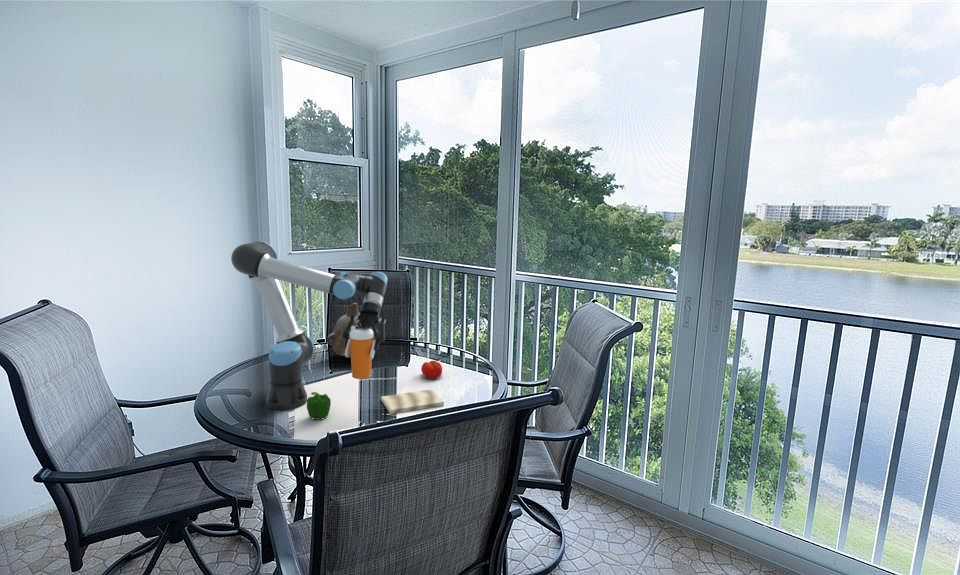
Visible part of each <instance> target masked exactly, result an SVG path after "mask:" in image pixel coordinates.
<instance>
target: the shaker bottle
mask: <svg viewBox="0 0 960 575" xmlns="http://www.w3.org/2000/svg"><path fill="white" fill-rule="evenodd" d="M370 327H371V326H370V325H361V324H356V325H353V326H351V331H350V345H351V358H350V361H351V377H352V378H353V379H356V380H365V379H369V378H370V377H371V376H372V364H373V362H372V360H373V359H371V358H370V352H371V348H372V344H373V337H374V332H373V331H372V330H371V329H370Z"/></svg>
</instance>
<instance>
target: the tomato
mask: <svg viewBox="0 0 960 575" xmlns="http://www.w3.org/2000/svg"><path fill="white" fill-rule="evenodd" d="M420 369H421V373H422V375H423V377H425V378H427V379H438V378H439V377H441V375H442V373H443V366H442V364H441V363H440V362H438V361H436V360H430V361H429V362H428V361H425V362H424V363H422V365H421V368H420Z"/></svg>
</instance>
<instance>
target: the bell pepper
mask: <svg viewBox="0 0 960 575" xmlns="http://www.w3.org/2000/svg"><path fill="white" fill-rule="evenodd" d="M310 395H312V396H309V397H307V402H306V410H307V413H308V417H310V419H312V418H314V419H313V420H323V419H322V418H324V419H326V418H328V416H329V414H330V411H331V410H330V409H331V405H332V403H331V402H332V401H331V400H332V399H331V398H330V397H329V396H328V394H327V393H324V394H320V393H318V392H317V391H312V392H311V393H310ZM325 417H326V418H325ZM316 418H318V419H316Z"/></svg>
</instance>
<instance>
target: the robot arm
mask: <svg viewBox="0 0 960 575" xmlns="http://www.w3.org/2000/svg"><path fill="white" fill-rule="evenodd" d="M230 259H231V260H230V261H231V264H232V266H233V267H234V269H235V270H236V271H237V272H239V273H240V274H244V275H246V276H247V275H248V278H249V280H250V281H253V282H255V284H256V287H257V289H258V292H259V294H260V296H261V298H262V299H261V300H262V301H263V303H264V306H265V308H266V310H267V313H268V315H269V318H270V320H271V322H272V325H273V327H274V330H275V333H276V334H277V337H276V340H275V343H276V344H273V345H272V346H271V347H270V348H269V351H268V353H269V354H268V362H269V364H268V365H269V367H268V368H269V382H270V383H269V384H270V385H269V389H268V392H267V396H266V399H265V405H266V407H267V408H269V409H271V410H275V411H287V410H292V409H297V408H299V407H301V406H304V405H305V404H307V399H308V394H307V391H306V389H305V386H304V383H303V373H302V372H303V371H302V368H303V367H304V366H305V365H306V364H307V363H308V362H309V361H310V360H311V359H312V357H313V355H314V352H315V345H314V342H313V340H312V339H311V338H310V337H309V336H307V334H306V332H305V330H304V329H302V328H300V327H299V326H298V322H297V320H296V317H295V315H294V313H293V310H292V308H291V306H290V303H289V301H288V298H287V296H286V293H285V292H284V288H283V286H282V283H281V282H285V283H288V284H293V285H296V286H300V287H304V288H306V289H307V288H308V289H312V290H315V291H319V292H323V293H326V294H331V295H333V296H335V297H336V298H337V299H338V300H339V299H340V300H347V299H348V300H349V299H350V298H352V297H353V296H354V295H355V294H362V295H364V297H363V301H362V305H361V309H360V311H359V313H360V315H359V316H358V317H354V316H351V319H350V322H349V324H348V326H347V327H346V329H345V331H344V333H343V335H342V337H343V339H344V340H346V342H345V345H344V346H345V348H346V350H345V356H344V357H345V358H349V357H348V356H349V353H350V349H351V345H350V331H351V326H353V325H354V324H355V323H356V321H357V320H359V322H358V323H357V324H361V325H370V326H371V327H372V329H373V332H374V336H375V339H376V341H375V340H373V344H372V348H371V352H370V358H371V359H372V360H374V357H375V353H376V351H378V350H379V346H380V344H381V343H385V341H386V334H385V333H386V330H385V329H386V328H385V327H386V323H387V320H386V317H380V314H381V310H382V309H381V308H382V305H383V303H384V297H385V293H386V290H387V287H388V280H389V278H388V276H387V275H386V274H385V273H384V272H382V271H373V272H371V273H370V275H369V276H368V275H363V274H358V273H357V274H356V273H352V272H346V271H344V272H343V271H342V272H340V273H339V274H338V275H336V274H333V273H329V272H326V271H322V270H318V269H314V268H311V267H308V266H304V265H301V264H297V263H293V262H290V261H285V260H282V259H279V258H278V253H277V251H276V249H275V247H274V246H272V245H271V244H270V243H268V242H266V241H265V242H264V241H252V242H248V243H244V244H240V245H237V247H236V248H234V249H233V251H232V254H231V257H230ZM378 323H379V324H380V325H379V326H380V327H379V328H380V332H379V333H380V338H379V337H378V334H377V331H378V330H377V328H376V325H377V324H378ZM371 327H370V328H371ZM376 330H377V331H376Z"/></svg>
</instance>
